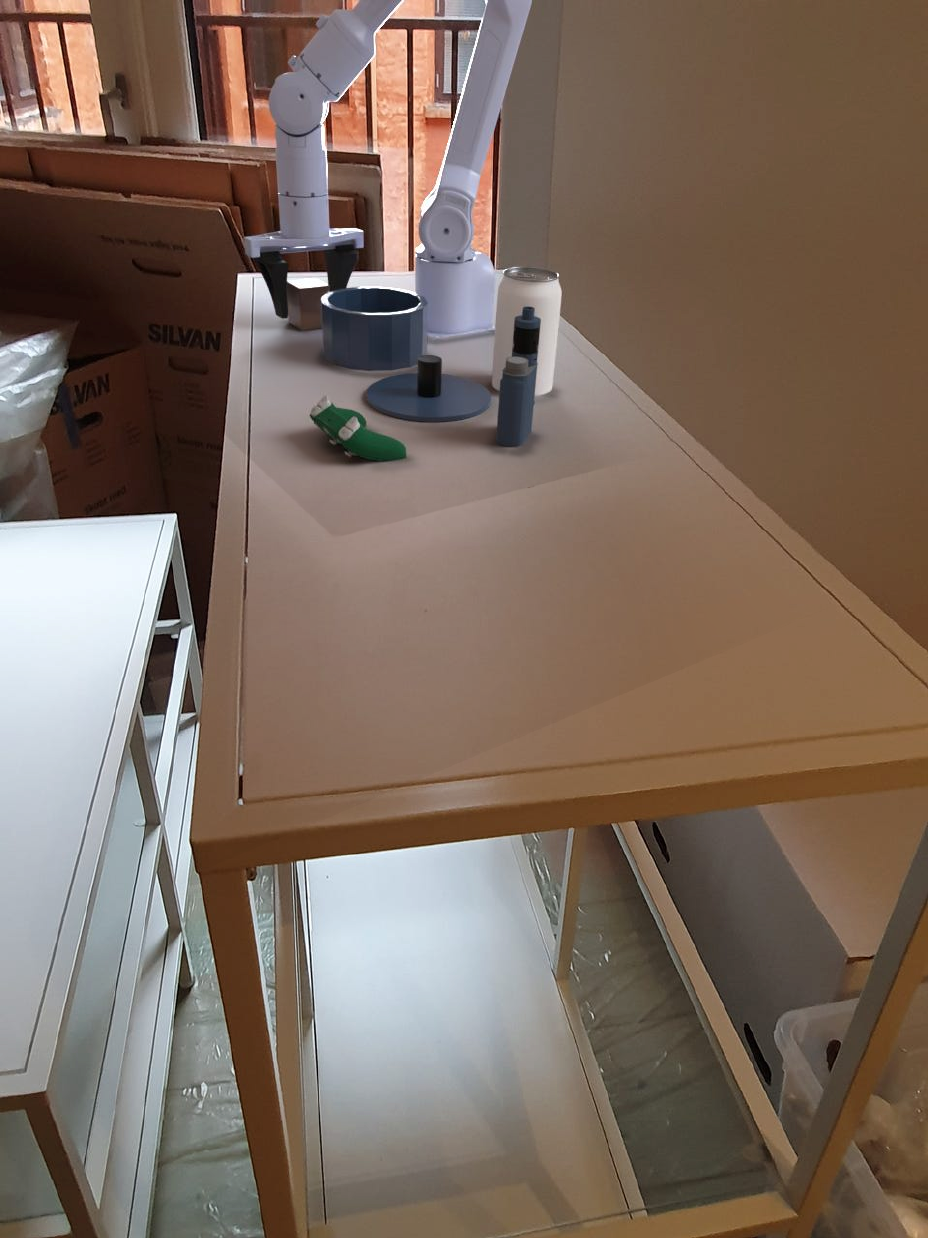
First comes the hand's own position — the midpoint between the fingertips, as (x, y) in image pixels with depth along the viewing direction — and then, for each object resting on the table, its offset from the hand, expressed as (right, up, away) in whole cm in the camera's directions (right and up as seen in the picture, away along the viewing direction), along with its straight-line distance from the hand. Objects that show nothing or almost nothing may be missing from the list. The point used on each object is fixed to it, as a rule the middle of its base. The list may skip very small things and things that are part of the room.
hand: (309, 312), depth 113 cm
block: (0, -1, +1) cm, 1 cm away
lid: (+16, -15, -20) cm, 30 cm away
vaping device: (+24, -21, -27) cm, 42 cm away
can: (+25, -14, -15) cm, 33 cm away
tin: (+9, -8, -9) cm, 15 cm away
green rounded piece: (+9, -23, -30) cm, 39 cm away
